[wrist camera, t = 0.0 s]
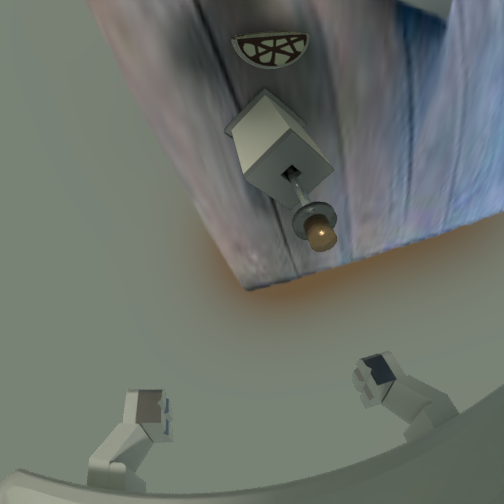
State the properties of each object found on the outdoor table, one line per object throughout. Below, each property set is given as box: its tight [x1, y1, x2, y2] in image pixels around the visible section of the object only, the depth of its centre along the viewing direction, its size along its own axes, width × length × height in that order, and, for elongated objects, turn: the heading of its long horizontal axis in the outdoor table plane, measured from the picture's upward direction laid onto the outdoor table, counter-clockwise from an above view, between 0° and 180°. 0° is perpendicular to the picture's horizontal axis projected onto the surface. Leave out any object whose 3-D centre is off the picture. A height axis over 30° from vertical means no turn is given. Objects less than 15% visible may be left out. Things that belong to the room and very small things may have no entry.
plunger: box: [283, 165, 337, 252], centre depth 39 cm, size 7×7×19 cm
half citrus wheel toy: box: [231, 30, 310, 69], centre depth 39 cm, size 12×6×10 cm, turn 96°
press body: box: [224, 87, 334, 210], centre depth 49 cm, size 12×12×20 cm
